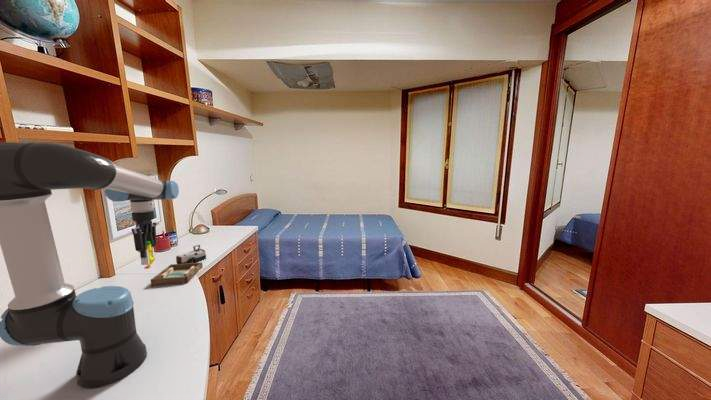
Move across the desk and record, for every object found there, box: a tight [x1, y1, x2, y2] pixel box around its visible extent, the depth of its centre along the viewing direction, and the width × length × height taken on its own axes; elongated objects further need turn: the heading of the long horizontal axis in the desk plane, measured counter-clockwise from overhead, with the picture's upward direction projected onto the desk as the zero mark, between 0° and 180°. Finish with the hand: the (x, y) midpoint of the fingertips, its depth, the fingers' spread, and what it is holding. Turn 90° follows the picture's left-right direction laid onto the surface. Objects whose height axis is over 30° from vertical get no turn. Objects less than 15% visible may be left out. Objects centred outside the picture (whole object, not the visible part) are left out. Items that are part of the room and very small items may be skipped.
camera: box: [175, 244, 207, 264], centre depth 153 cm, size 15×8×10 cm, turn 151°
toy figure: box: [137, 241, 157, 270], centre depth 114 cm, size 7×4×12 cm, turn 109°
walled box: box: [150, 262, 204, 288], centre depth 135 cm, size 19×16×4 cm
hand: (148, 262), depth 115 cm, fingers closed on toy figure, 4 cm apart
